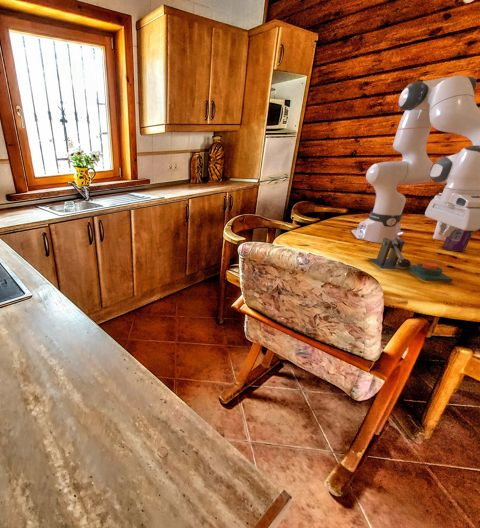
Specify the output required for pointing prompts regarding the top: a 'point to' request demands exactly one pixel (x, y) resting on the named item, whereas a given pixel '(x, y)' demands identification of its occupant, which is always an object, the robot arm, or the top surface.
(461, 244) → the purple box
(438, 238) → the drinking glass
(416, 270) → the panel
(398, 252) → the lever
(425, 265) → the button
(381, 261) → the power bracket
